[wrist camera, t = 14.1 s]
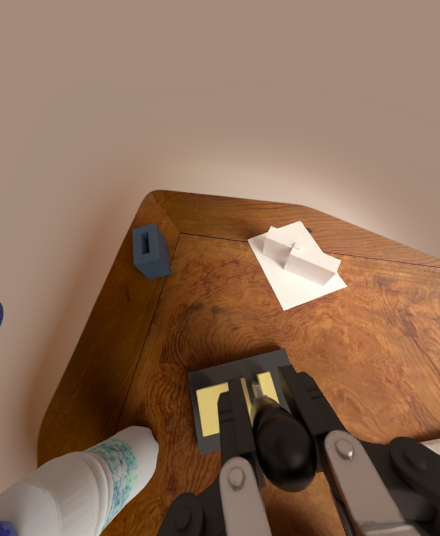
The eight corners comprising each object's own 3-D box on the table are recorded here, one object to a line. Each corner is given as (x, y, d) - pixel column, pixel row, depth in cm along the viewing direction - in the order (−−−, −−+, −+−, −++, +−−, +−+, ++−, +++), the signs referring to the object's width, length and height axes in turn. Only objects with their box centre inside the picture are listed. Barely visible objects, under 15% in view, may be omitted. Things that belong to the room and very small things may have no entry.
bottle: (111, 430, 28) (-117, 530, 10) (159, 413, 28) (18, 479, 11) (115, 497, 25) (-203, 806, 7) (169, 476, 25) (-7, 720, 8)
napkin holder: (347, 285, 34) (366, 270, 29) (284, 311, 33) (291, 300, 28) (299, 220, 41) (307, 198, 35) (246, 239, 40) (246, 220, 35)
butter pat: (266, 413, 26) (269, 419, 23) (255, 374, 28) (257, 374, 25) (278, 410, 26) (283, 415, 23) (266, 371, 28) (269, 371, 25)
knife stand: (148, 279, 38) (133, 264, 33) (146, 247, 41) (132, 228, 36) (171, 274, 38) (159, 258, 33) (166, 242, 41) (155, 222, 36)
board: (201, 451, 26) (199, 455, 25) (190, 373, 30) (187, 373, 29) (308, 422, 26) (312, 425, 25) (282, 349, 30) (284, 348, 29)
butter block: (207, 429, 26) (202, 437, 23) (201, 388, 28) (196, 390, 25) (254, 417, 26) (255, 422, 23) (244, 377, 28) (244, 377, 25)
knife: (252, 420, 23) (278, 550, 6) (243, 383, 24) (243, 404, 8) (272, 415, 23) (351, 530, 6) (261, 378, 24) (301, 389, 8)
